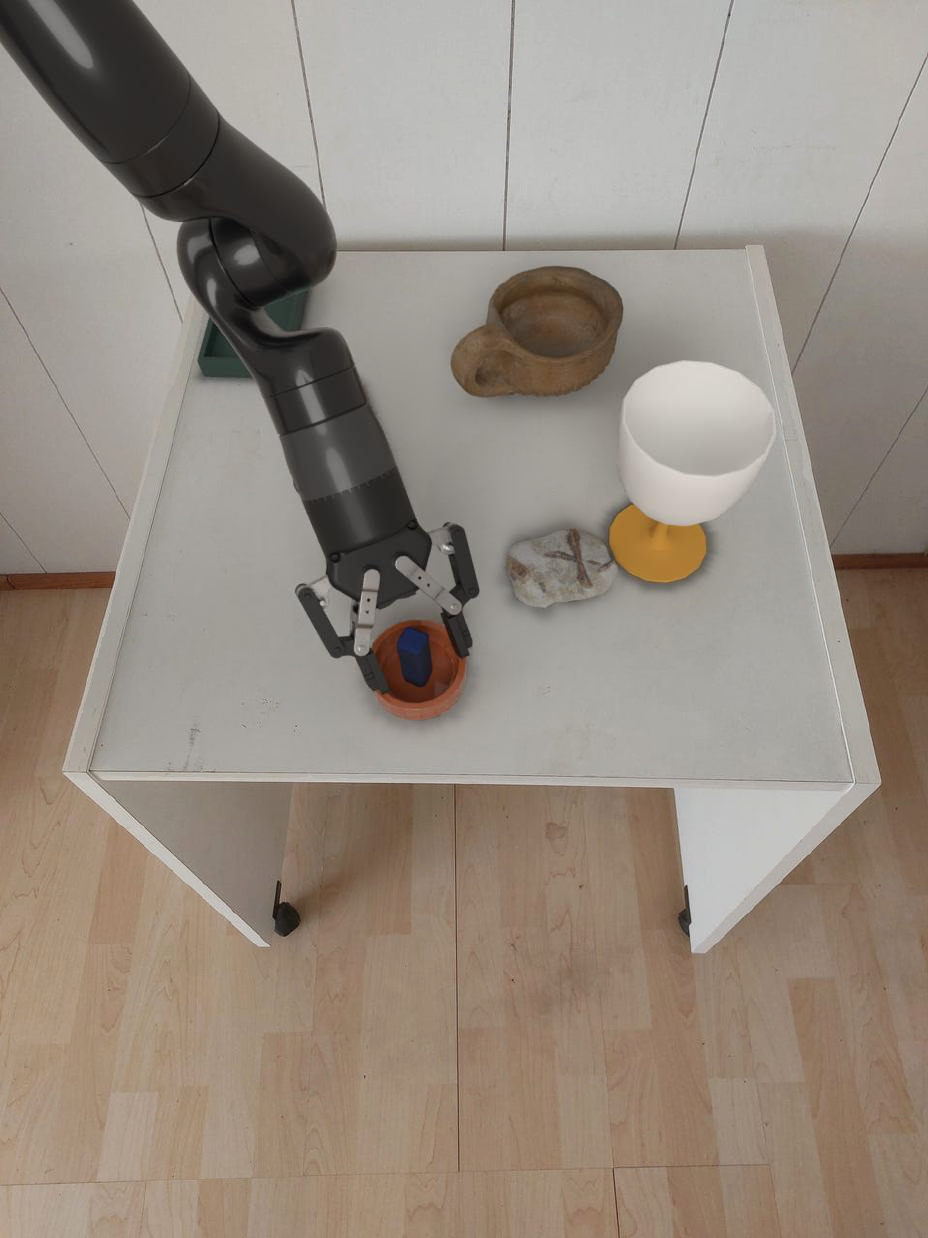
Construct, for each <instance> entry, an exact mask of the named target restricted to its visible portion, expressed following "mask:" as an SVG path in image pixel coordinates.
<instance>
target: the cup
mask: <svg viewBox="0 0 928 1238" xmlns="http://www.w3.org/2000/svg"><path fill="white" fill-rule="evenodd" d="M617 429H618V431H617V432H618V433H617V457H616V458H617V460H616V461H617V463H616V468H617V473H618V478H619V482H620V484H621V486H622V488H623V491H624V492H625V494H626V496H627V498H628V500H629V501H630V502H631V503H632V504H630V505H628V506H627V507H626V508H624V509H623V510H622V511H620V512H618V514H616V516H615V518H614V520H613V521H612V524H611V525H610V527H609V532H608V533H609V534H608V546H609V548H610V550H611V553H612V555H613V558H614V560H615V562H617V563H618V564H619V565H620V566H621V567H622V568H623V569H624V570H625V571H626V572H627V573H628V574H630V575H633V576H634V577H637V578H639V579H642V580H644V581H646V582H654V583H665V584H667V583H672V582H674V581H678V580H679V581H680V580H682V579H686V578H687V577H688V576H690V575H691V574H693V572H695V571H696V570H698V569H699V568H700V566H701V564H702V562H703V560H704V558H705V556H706V554H707V536H706V533H705V531H704V530H703V527H702V526H701V523H706V522H709V521H713V520H716V519H717V518H718V517H719V516H721V515H722V514H724V513H725V512H726V511H728V510H729V509H730V508H731V507H733V506H734V505H735V504H736V503H737V502H738V501H739V500H741V499H742V498H743V496H744V495H745V493H747V491H748V489H749V488H750V486H751V485H752V483H753V482H754V481H755V479H756V478H757V476H758V474H759V472H760V471H761V468H762V466H763V465H764V463H765V461H766V459H767V458H768V455H769V454H770V452H771V449H772V447H773V445H774V443H775V440H776V439H777V436H778V430H777V418H776V411H775V409H774V407H773V405H772V404H771V402H770V400H769V399H768V397H767V395H766V394H765V393H764V391H763V389H762V388H761V387H760V386H758V385H757V384H755V383H754V382H753V381H752V380H751V379H749V378H748V377H747V376H745V375H744V374H743V373H741V372H740V371H737V370H735V369H732V368H729V367H726V366H723V365H721V364H718V363H716V362H713V361H702V360H701V361H700V360H687V359H686V360H685V359H682V360H678V361H673V362H670V363H669V362H668V363H666V364H661V365H657V366H655V367H653V368H652V369H650V370H648V371H647V372H645V373H643V375H640V376H639V377H638V378H636V379H635V380H634V381H633V382H632V383H631V385H630V387H629V389H628V390H627V392H626V394H625V396H624V397H623V399H622V400H621V406H620V412H619V419H618V428H617Z"/></svg>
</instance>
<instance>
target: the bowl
mask: <svg viewBox="0 0 928 1238" xmlns="http://www.w3.org/2000/svg"><path fill="white" fill-rule="evenodd" d="M623 316H624V304H623V299H622V296H621V295H620V293H619V291H618V290H617V289H616V288H615V287H614V286H612V284H611V283H609V282H608V281H607V280H605V279H603V278H601V277H599V276H597V275H594V274H592V273H591V272H590V271H588V270H586V269H583V268H581V267H576V266H575V267H574V266H565V265H544V266H539V267H536V268H531V269H528V270H523V271H520V272H518V273H516V274H514V275H512V276H510V277H509V278H508V279H506V281H504V282H502V283H500V284H499V285H498V286H497V287H496V289H495V290H494V291H493V294H492V296H491V297H490V299H489V303H488V308H487V317H486V322H485V324H483V325H481V326H479V327H476V328H475V329H473V330H472V331H470V332H468V333H467V334H466V335H465V336H464V337H463V338H462V339H460V340H459V342H458V343H457V344H456V346H455V347H454V349H453V351H452V353H451V358H450V371H451V373H452V375H453V378H454V379H455V381H456V382H457V383H458V385H459V386H460V387H461V389H462V390H463V391H464V392H466V393H467V394H468V395H470V396H472V397H477V398H487V399H488V398H493V397H494V398H495V397H499V396H514V395H517V394H520V395H521V396H525V397H528V396H535V397H538V398H539V397H546V398H547V397H551V396H554V397H559V396H561V395H568V394H570V393H571V392H578V391H580V390H582V389H583V387H586V386H589V385H590V384H591V383H592V381H594V380H597V379H598V378H599V376H600V375H602V373H604V372H605V370H606V367H608V366H609V364H610V362H611V360H612V357H613V355H614V353H615V350H616V345H617V339H618V332H619V330H620V328H621V325H622V322H623Z"/></svg>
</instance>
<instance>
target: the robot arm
mask: <svg viewBox="0 0 928 1238" xmlns="http://www.w3.org/2000/svg"><path fill="white" fill-rule="evenodd" d="M0 45H1V46H2V47H3V48H4V50H5V51H6V53H7V54H8V55H9V56H10V58H11V59H12V60H13V62H14V63H15V64H16V65H17V67H18V68H19V70H20V71H21V72H22V74H23V75H24V77H26V79H27V80H28V81H29V83H30V84H31V85H32V87H33V88H34V89H35V91H36V92H37V93H38V94H39V96H40V97H41V99H42V100H43V101H44V102H45V103H46V105H47V106H48V107H49V108H50V109H51V111H52V112H53V113H54V115H56V117H57V118H58V119H59V120H60V121H61V123H62V124H64V126H65V127H66V128H67V129H68V130H69V131H70V133H71V134H72V135H73V136H74V137H75V138H76V139H77V140H78V141H79V142H80V143H81V144H82V145H83V146H84V148H85V149H87V151H88V152H89V153H90V154H91V155H92V156H93V157H95V159H96V160H97V161H98V162H99V163H100V164H101V165H102V166H103V167H104V168H105V169H106V170H107V171H108V172H109V173H110V174H111V175H112V176H113V177H114V178H115V179H116V180H117V181H118V182H119V183H120V184H121V185H122V186H123V187H124V188H125V189H126V190H127V191H128V192H129V194H130V195H132V197H133V198H135V200H137V202H138V203H140V204H141V205H142V206H143V207H144V208H145V209H146V210H148V211H149V212H150V213H151V214H153V215H154V216H155V217H157V218H160V219H162V220H165V221H168V222H173V223H181V224H180V226H179V228H178V230H177V235H176V258H177V263H178V267H179V271H180V273H181V275H182V278H183V279H184V282H185V283H186V286H187V287H188V289H189V291H190V292H191V293H192V295H193V296H194V298H195V300H196V301H197V302H198V303H199V305H200V306H201V307H202V309H203V310H204V312H205V313H206V314H207V315H208V317H209V316H210V318H211V319H212V320H213V321H214V323H215V324H216V325H217V326H218V328H219V329H220V330H221V332H222V333H223V335H224V336H225V337H226V339H227V340H228V341H229V343H230V344H231V346H232V347H233V349H234V350H235V351H236V353H237V354H238V356H239V357H240V359H241V360H242V362H243V363H244V365H245V366H246V368H247V369H248V371H249V372H250V374H251V375H252V377H253V378H252V379H253V380H254V382H255V384H256V386H257V388H258V390H259V392H260V396H261V397H262V400H263V403H264V406H265V408H266V410H267V412H268V415H269V417H270V419H271V422H272V424H273V427H274V429H275V431H276V433H277V435H278V439H279V442H280V444H281V449H282V451H283V456H284V459H285V463H286V466H287V468H288V471H289V474H290V476H291V479H292V484H293V487H294V490H295V492H297V494H298V496H299V498H300V501H301V504H302V505H303V508H304V510H305V511H306V512H305V513H306V515H307V517H308V520H309V522H310V524H311V527H312V529H313V532H314V534H315V536H316V540H317V542H318V543H319V546H320V549H321V551H322V553H323V556H324V559H325V563H326V564H325V574H324V575H322V576H320V577H319V578H317V579H314V580H313V581H312V582H309V583H305V582H303V583H302V582H301V583H299V584H298V585H296V586H295V588H294V594H295V596H296V598H297V600H298V601H299V603H300V605H301V607H302V608H303V610H304V612H305V614H306V616H307V617H308V619H309V620H310V621H309V622H311V624H312V626H313V628H314V629H315V631H316V633H317V635H318V637H319V639H320V640H321V642H322V643H323V646H324V647H325V649H326V650H327V653H328V654H329V656H330V657H332V658H333V659H340V658H342V657H347V656H350V657H353V658H355V661H356V663H357V666H358V667H359V670H360V672H361V675H362V678H363V679H364V683H366V685H367V687H368V688H369V689H370V690H371V692H372V691H373V692H374V691H376V690H379V692H380V693H381V695H384V694H387V693H389V692H390V689H389V687H388V684H387V682H386V680H385V677H384V675H383V672H382V670H381V668H380V665H379V663H378V660H377V658H376V655H375V653H374V651H373V650H372V649H371V640H372V639H371V638H372V630H373V628H374V625H375V617H376V610H377V609H378V610H379V611H381V610H384V609H386V608H388V607H390V606H391V605H392V604H394V603H395V602H396V601H398V600H403V599H409V598H411V597H413V596H415V595H417V592H418V591H419V590H420V591H421V592H422V593H424V594H425V595H426V596H427V597H429V598H430V599H431V600H432V601H433V602H434V603H436V604H437V605H438V606H439V607H440V609H441V612H440V613H439V614H440V618H441V620H442V622H443V626H444V627H445V628H446V631H447V633H448V636H449V639H450V641H451V644H452V647H453V649H454V651H455V653H456V655H457V656H459V657H460V658H461V659H464V658H466V659H467V657H470V656H471V655H470V651H469V649H471V648H473V645H474V643H473V638H472V635H471V633H470V630H469V625H468V624H467V621H466V618H465V615H464V611H463V610H464V607H465V605H466V604H467V603H468V602H469V601H470V600H474V599H476V598H478V596H480V595H479V594H480V591H481V590H480V587H479V582H478V581H479V580H478V577H477V573H476V570H475V565H474V561H473V557H472V553H471V550H470V545H469V541H468V537H467V534H466V530H465V528H464V527H463V526H461V525H459V524H457V523H455V522H451V521H447V522H444V523H443V524H442V527H439V528H436V529H435V528H434V529H432V530H429V531H426V530H425V529H423V528H422V526H421V525H420V524H419V521H418V519H417V515H416V514H415V511H414V508H413V506H412V502H411V501H410V498H409V494H408V492H407V490H406V486H405V484H404V482H403V479H402V476H401V474H400V471H399V467H398V465H397V463H396V460H395V457H394V454H393V452H392V449H391V447H390V443H389V441H388V439H387V436H386V434H385V430H384V429H383V427H382V425H381V423H380V420H379V419H378V417H377V415H376V413H375V411H374V410H373V408H372V405H371V403H370V401H369V398H368V395H367V392H366V390H365V387H364V385H363V381H362V379H361V377H360V374H359V371H358V369H357V368H358V367H357V366H356V362H355V360H354V358H353V355H352V353H351V350H350V347H349V345H348V342H347V341H346V339H345V337H344V335H343V334H342V333H341V332H340V331H339V330H337V329H335V328H333V327H327V326H326V327H322V326H321V327H314V328H305V329H300V330H298V331H286V330H284V329H282V328H281V327H279V326H278V325H277V324H276V323H275V322H274V321H273V320H272V319H271V318H270V317H269V316H268V315H267V313H266V311H265V309H264V306H267V305H270V304H272V303H275V302H277V301H280V300H282V299H285V298H287V297H290V296H292V295H295V294H297V293H300V292H303V291H305V290H308V291H309V290H310V289H312V288H315V287H317V286H318V285H319V284H321V283H323V282H324V281H325V280H326V279H328V277H329V276H330V275H331V273H332V271H333V269H334V268H335V264H336V261H337V256H338V240H337V235H336V231H335V227H334V224H333V222H332V219H331V216H330V215H329V213H328V211H327V210H326V207H325V206H324V204H323V203H322V201H321V200H320V198H319V197H318V196H317V195H316V194H315V193H314V191H313V190H312V189H311V187H309V186H308V184H306V182H305V181H303V179H301V178H300V177H299V176H297V174H295V173H294V172H293V171H292V170H291V169H289V168H288V167H287V166H285V165H284V164H283V163H281V162H280V161H278V160H277V159H276V158H274V157H273V156H272V155H270V154H269V153H268V152H267V151H265V150H263V149H262V147H260V146H259V145H257V144H256V143H255V142H253V141H252V140H251V139H249V138H248V137H247V136H246V135H245V134H244V133H242V132H241V131H239V130H238V129H237V128H236V127H234V126H233V125H232V124H230V123H229V122H228V121H227V120H226V119H225V117H224V116H223V115H222V114H221V112H220V111H219V109H218V108H217V107H216V106H215V104H213V102H212V100H211V99H210V98H209V97H208V95H207V94H206V93H205V91H204V90H203V89H202V87H201V85H199V83H198V82H197V80H196V79H195V78H194V77H193V75H192V74H191V73H190V71H189V70H188V69H187V67H186V66H185V65H184V63H183V62H182V60H181V59H180V58H179V57H178V56H177V54H176V53H175V52H174V50H173V49H172V48H171V46H170V45H169V44H168V43H167V42H166V40H165V39H164V37H162V35H161V34H160V33H159V32H158V30H157V29H156V28H155V26H154V25H153V24H152V22H151V21H150V20H149V18H147V16H146V15H145V13H144V12H143V11H142V10H141V9H140V7H139V6H138V4H137V3H136V2H135V1H134V0H0ZM433 546H436V547H437V549H438V550H439V552H441V553H442V554H444V555H447V558H448V561H449V564H450V569H451V573H452V577H453V581H454V585H455V586H453V587H452V588H451V589H450V590H449V591H448V590H447V589H446V588H444V587H443V585H441V584H440V583H439V582H438V581H437V580H435V579H434V578H433V577H432V576H430V575H429V574H428V573H427V572H426V571H427V567H428V563H429V559H430V555H431V551H432V548H433ZM332 588H334V589H335V590H336V591H338V592H340V593H341V594H343V595H345V596H347V597H348V598H350V599H351V601H350V611H349V621H350V623H349V632H348V635H341V636H339V635H338V633H337V632H336V630H335V628H334V626H333V624H332V623H331V621H330V619H329V617H328V615H327V614H326V611H325V609H327V608H328V607H329V605H330V598H329V592H330V590H332Z"/></svg>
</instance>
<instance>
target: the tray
mask: <svg viewBox="0 0 928 1238" xmlns="http://www.w3.org/2000/svg"><path fill="white" fill-rule="evenodd" d="M308 292H309V289H308V290H305V291H303V292H300V293H297V294H295V295H292V296H290V297H287V298H285V299H282V300H280V301H277V302H275V303H272V304H270V305H267V306H264V309H265V311H266V313H267V315H268V316H269V317H270V318H271V319H272V320H273V321H274V322H275V323H276V324H277V325H278V326H279V327H281V328H282V329H284V330H286V331H298V330H301V326H302V320H303V316H304V312H305V311H304V310H305V306H306V301H307V296H308ZM196 361H197V364H198V366H199V369H200V371H201V374H202V376H203V377H213V378H214V377H216V378H217V377H218V378H246V379H247V378H248V379H249V378H250V379H253V377H252V375H251V374H250V372H249V371H248V369H247V368H246V366H245V365H244V363H243V362H242V360H241V359H240V357H239V356H238V354H237V353H236V351H235V350H234V349H233V347H232V346H231V344H230V343H229V341H228V340H227V339H226V337H225V336H224V335H223V333H222V332H221V330H220V329H219V328H218V326H217V325H216V324H215V323H214V321H213V320H212V319H211V318H210V316H209V315H208V320H207V324H206V328H205V330H204V334H203V338H202V342H201V345H200V349H199V352H198V356H197V359H196Z"/></svg>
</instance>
